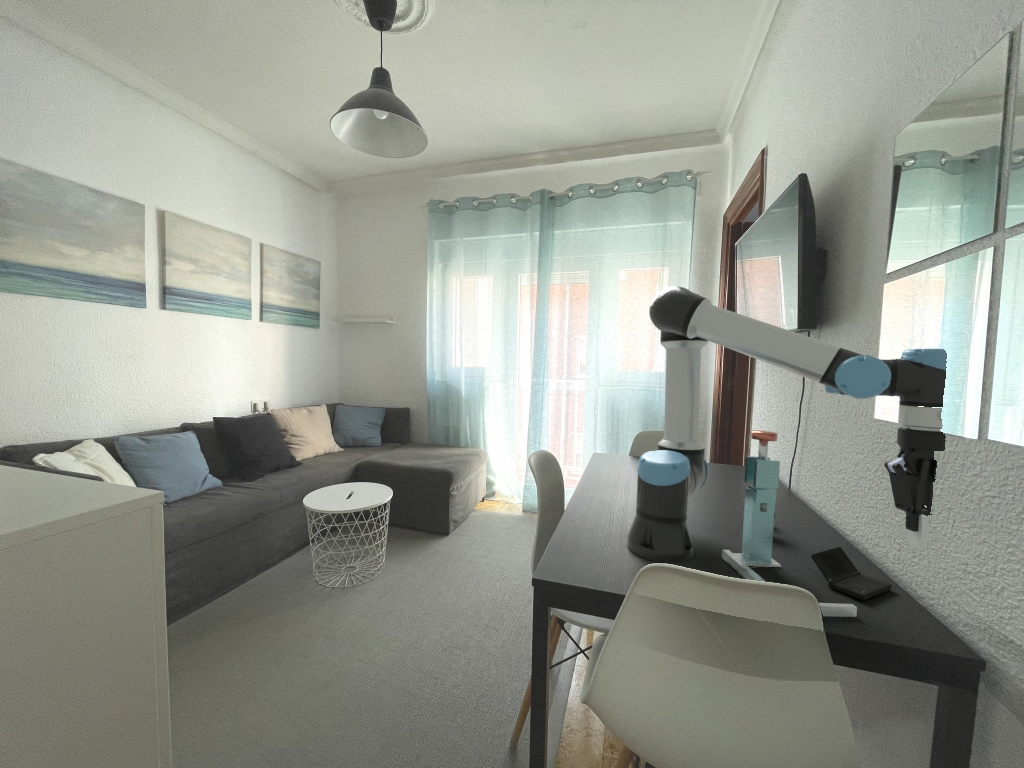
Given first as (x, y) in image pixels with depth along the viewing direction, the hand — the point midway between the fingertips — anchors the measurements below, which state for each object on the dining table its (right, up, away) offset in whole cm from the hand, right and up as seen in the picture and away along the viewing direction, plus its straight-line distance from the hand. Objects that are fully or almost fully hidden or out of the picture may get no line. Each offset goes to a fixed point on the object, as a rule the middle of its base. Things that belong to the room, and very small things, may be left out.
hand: (917, 546), depth 79 cm
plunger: (-23, +14, +12) cm, 30 cm away
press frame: (-24, -9, +5) cm, 26 cm away
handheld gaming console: (-9, -11, 0) cm, 14 cm away
